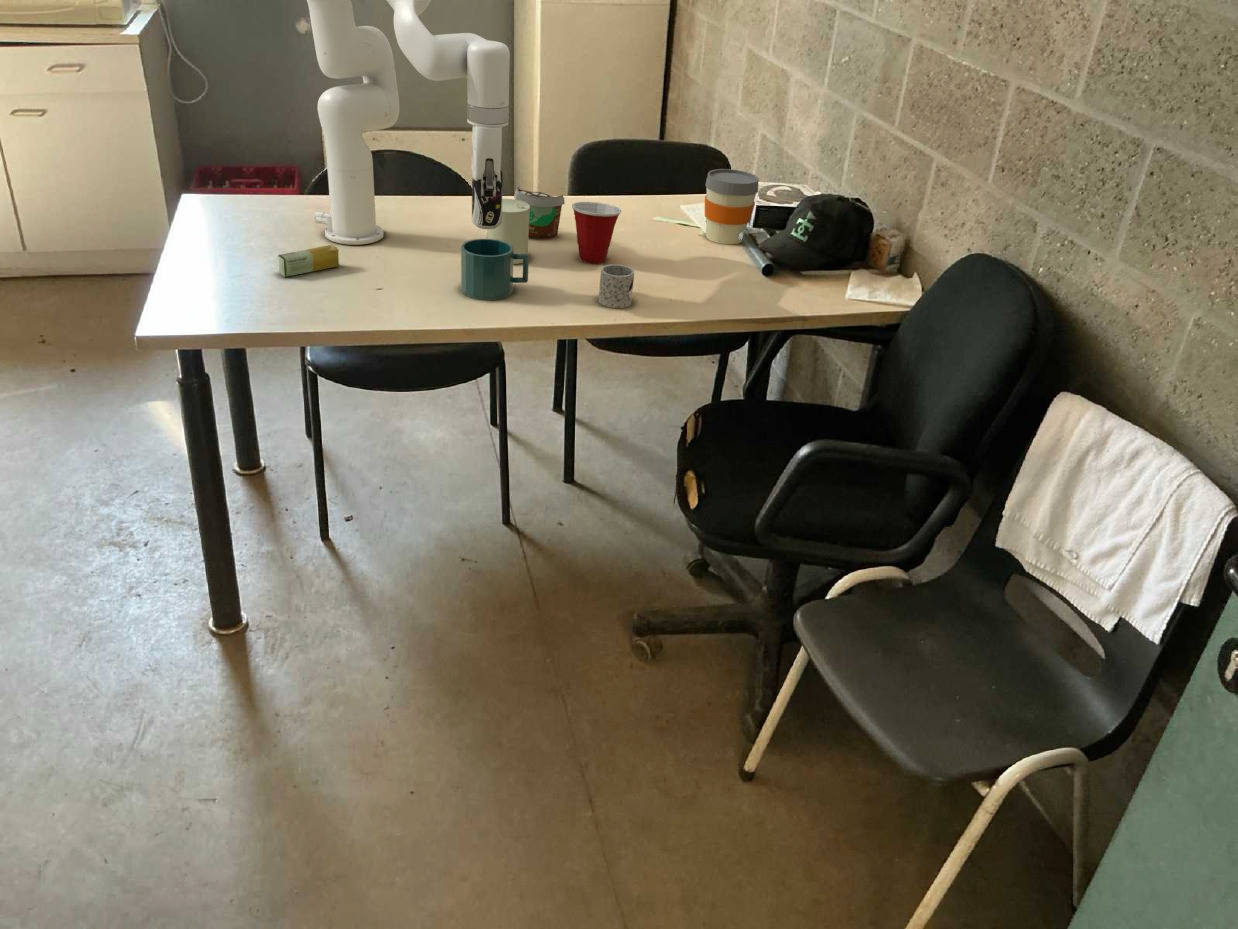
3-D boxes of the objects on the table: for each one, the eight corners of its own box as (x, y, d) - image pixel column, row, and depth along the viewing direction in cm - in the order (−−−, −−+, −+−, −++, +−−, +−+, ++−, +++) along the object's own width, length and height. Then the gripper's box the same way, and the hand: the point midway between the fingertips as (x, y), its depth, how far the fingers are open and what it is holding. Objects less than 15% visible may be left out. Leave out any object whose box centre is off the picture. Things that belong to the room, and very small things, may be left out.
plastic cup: (625, 257, 218) (629, 204, 212) (604, 271, 209) (608, 217, 203) (582, 247, 221) (585, 195, 215) (560, 260, 213) (562, 206, 207)
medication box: (284, 278, 192) (282, 259, 189) (278, 272, 193) (276, 254, 191) (340, 266, 199) (339, 248, 196) (333, 261, 200) (332, 243, 198)
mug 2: (635, 307, 194) (638, 276, 190) (603, 308, 192) (606, 276, 188) (621, 288, 202) (623, 258, 198) (590, 289, 200) (592, 258, 196)
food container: (503, 233, 225) (504, 191, 219) (515, 226, 230) (517, 184, 224) (551, 244, 221) (553, 201, 216) (563, 237, 226) (565, 194, 221)
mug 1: (462, 300, 190) (462, 256, 185) (459, 280, 198) (459, 238, 193) (530, 300, 192) (531, 257, 188) (524, 281, 201) (526, 239, 196)
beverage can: (476, 231, 185) (477, 168, 178) (468, 221, 189) (468, 159, 183) (505, 229, 187) (506, 167, 180) (496, 220, 191) (497, 158, 185)
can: (521, 267, 208) (523, 212, 201) (480, 260, 209) (481, 205, 202) (533, 253, 215) (535, 199, 209) (493, 247, 216) (494, 194, 210)
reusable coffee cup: (725, 250, 228) (734, 186, 220) (688, 234, 236) (695, 172, 228) (760, 241, 235) (770, 179, 227) (723, 226, 243) (732, 166, 235)
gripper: (464, 103, 183) (465, 199, 193) (469, 124, 169) (469, 226, 179) (504, 105, 184) (502, 200, 194) (512, 126, 171) (510, 227, 181)
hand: (487, 212), depth 187 cm, fingers closed on beverage can, 3 cm apart
